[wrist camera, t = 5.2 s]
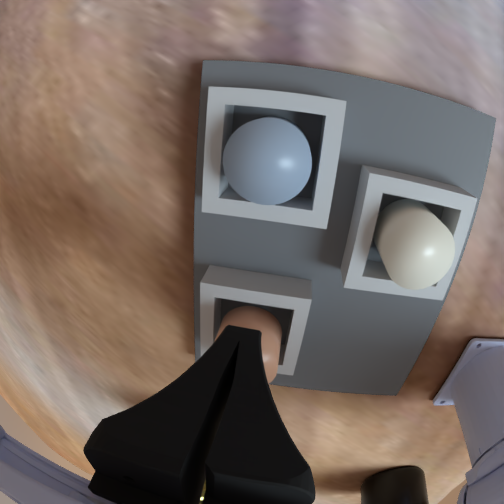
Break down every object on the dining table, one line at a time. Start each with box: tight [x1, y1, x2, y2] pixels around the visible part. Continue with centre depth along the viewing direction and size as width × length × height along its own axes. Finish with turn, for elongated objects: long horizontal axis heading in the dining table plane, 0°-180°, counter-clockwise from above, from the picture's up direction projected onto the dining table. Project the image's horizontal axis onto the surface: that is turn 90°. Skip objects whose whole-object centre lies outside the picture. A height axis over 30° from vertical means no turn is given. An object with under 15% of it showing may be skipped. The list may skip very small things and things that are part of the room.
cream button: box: [373, 199, 455, 290], centre depth 15 cm, size 4×4×3 cm
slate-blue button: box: [223, 116, 312, 205], centre depth 14 cm, size 4×4×3 cm
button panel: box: [194, 60, 496, 396], centre depth 18 cm, size 16×21×4 cm
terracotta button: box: [214, 306, 282, 384], centre depth 17 cm, size 4×4×3 cm
